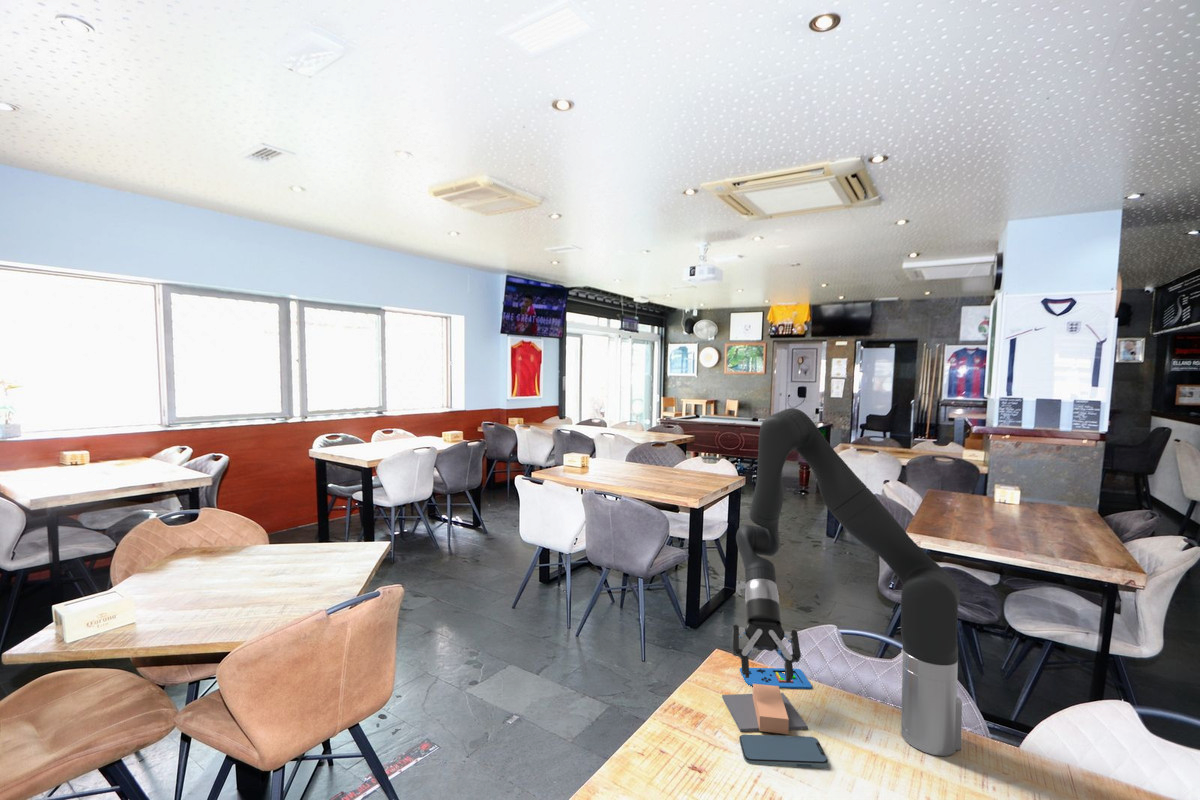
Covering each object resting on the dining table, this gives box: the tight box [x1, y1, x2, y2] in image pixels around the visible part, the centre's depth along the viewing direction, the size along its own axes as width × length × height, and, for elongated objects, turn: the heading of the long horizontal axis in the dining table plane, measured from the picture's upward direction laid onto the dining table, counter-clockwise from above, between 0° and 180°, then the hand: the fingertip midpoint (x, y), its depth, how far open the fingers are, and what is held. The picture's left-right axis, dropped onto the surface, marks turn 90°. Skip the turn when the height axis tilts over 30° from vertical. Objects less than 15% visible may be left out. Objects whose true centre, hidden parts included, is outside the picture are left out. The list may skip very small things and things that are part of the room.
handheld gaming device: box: [739, 667, 813, 690], centre depth 127 cm, size 8×1×15 cm
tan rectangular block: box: [752, 684, 789, 735], centre depth 112 cm, size 6×3×12 cm
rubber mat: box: [721, 692, 809, 733], centre depth 113 cm, size 14×12×1 cm
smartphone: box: [738, 734, 829, 769], centre depth 101 cm, size 8×2×15 cm
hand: (767, 679), depth 113 cm, fingers open, 8 cm apart
